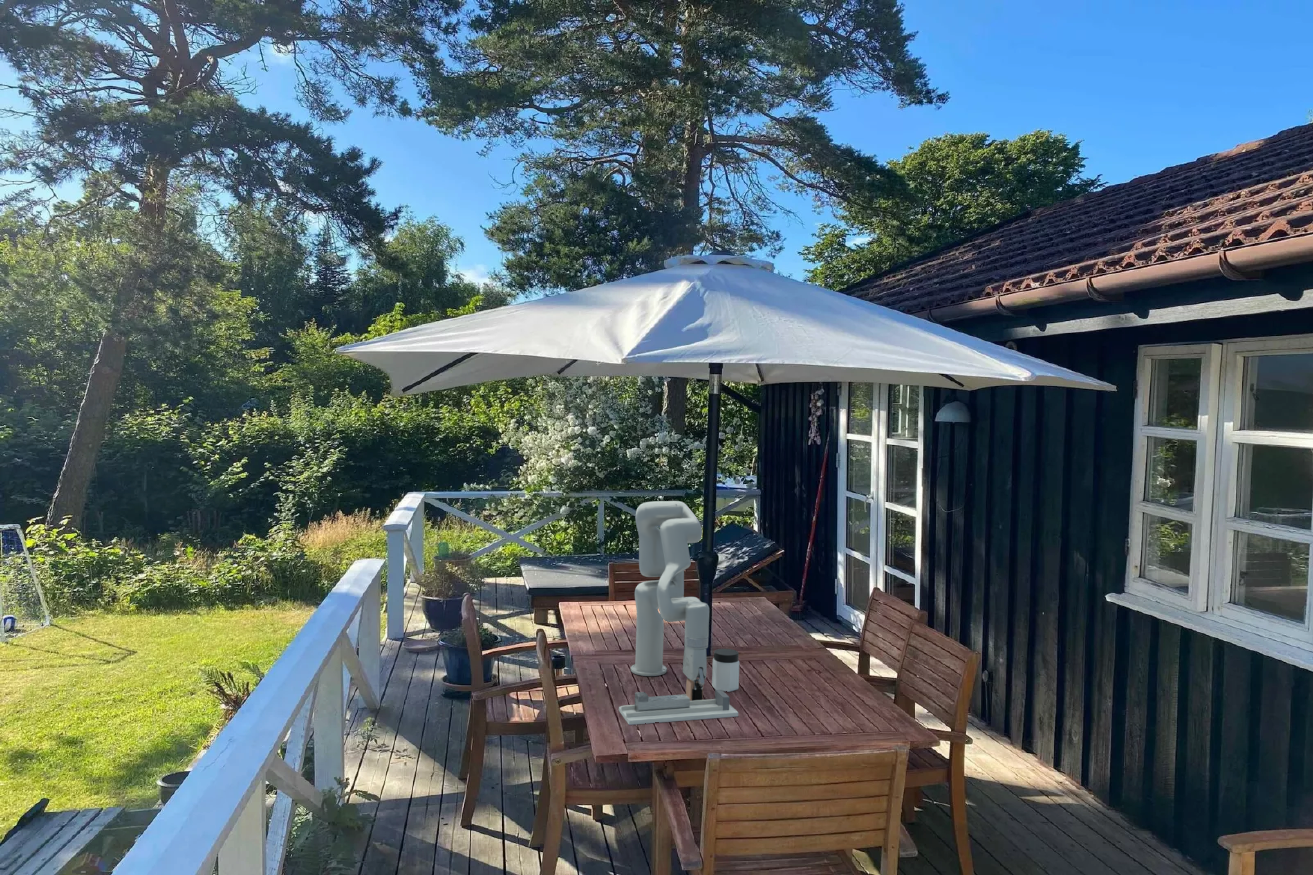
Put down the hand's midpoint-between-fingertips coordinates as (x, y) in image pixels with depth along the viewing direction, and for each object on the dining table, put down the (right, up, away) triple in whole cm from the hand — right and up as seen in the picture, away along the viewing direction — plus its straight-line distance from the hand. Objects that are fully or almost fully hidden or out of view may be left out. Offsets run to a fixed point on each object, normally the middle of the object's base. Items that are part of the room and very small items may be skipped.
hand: (694, 698), depth 272 cm
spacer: (0, 0, 0) cm, 0 cm away
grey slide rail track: (-5, -1, -13) cm, 14 cm away
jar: (+11, -1, +13) cm, 17 cm away
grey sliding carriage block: (-10, +1, -15) cm, 18 cm away
